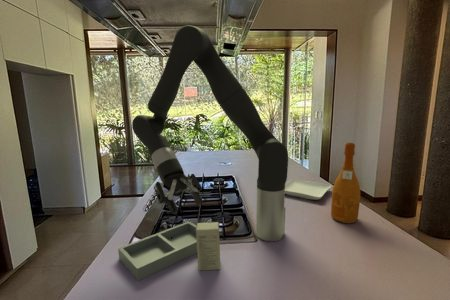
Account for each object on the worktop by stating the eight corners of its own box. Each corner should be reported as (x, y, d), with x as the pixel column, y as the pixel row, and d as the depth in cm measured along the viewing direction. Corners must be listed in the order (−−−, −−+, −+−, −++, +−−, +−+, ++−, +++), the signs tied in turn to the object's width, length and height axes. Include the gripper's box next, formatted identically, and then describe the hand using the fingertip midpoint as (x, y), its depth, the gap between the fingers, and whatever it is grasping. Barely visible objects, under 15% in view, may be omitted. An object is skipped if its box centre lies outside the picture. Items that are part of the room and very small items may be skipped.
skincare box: (220, 260, 76) (219, 221, 74) (220, 270, 72) (219, 229, 70) (198, 261, 76) (196, 222, 74) (197, 270, 72) (195, 229, 69)
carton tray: (189, 230, 94) (189, 221, 93) (212, 244, 84) (212, 234, 84) (119, 258, 77) (118, 248, 77) (138, 280, 68) (137, 268, 67)
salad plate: (292, 183, 145) (292, 177, 145) (332, 191, 133) (332, 184, 133) (276, 195, 128) (276, 188, 128) (320, 204, 116) (321, 197, 116)
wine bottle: (324, 215, 105) (330, 141, 99) (343, 211, 108) (349, 140, 103) (344, 226, 96) (351, 145, 90) (363, 221, 99) (371, 143, 94)
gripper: (149, 161, 77) (171, 209, 71) (189, 154, 86) (212, 196, 80) (142, 175, 82) (163, 221, 76) (181, 167, 91) (202, 207, 85)
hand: (188, 208), depth 78 cm, fingers open, 8 cm apart
